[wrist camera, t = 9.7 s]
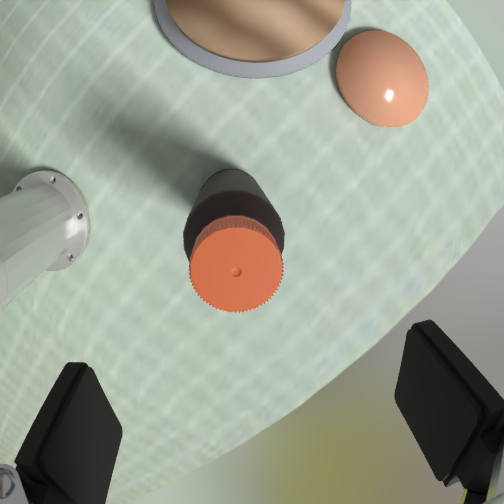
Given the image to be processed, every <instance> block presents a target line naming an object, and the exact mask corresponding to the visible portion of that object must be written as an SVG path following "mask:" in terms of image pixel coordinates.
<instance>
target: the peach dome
mask: <svg viewBox="0 0 504 504" xmlns="http://www.w3.org/2000/svg"><path fill="white" fill-rule="evenodd" d="M336 79H337V84H338V87H339V90H340V92H341V94H342V96H343V98H344V100H345V101H346V103H347V104H348V106H349V107H350V108H351V109H352V110H353V111H354V112H355V113H356V114H357V115H358V116H359V117H361V118H362V119H364V120H366V121H367V122H369V123H372V124H374V125H378V126H382V127H398V126H403V125H406V124H408V123H410V122H412V121H413V120H414V119H416V118H417V117H418V116H419V115H420V113H421V112H422V110H423V109H424V107H425V105H426V102H427V98H428V90H429V85H428V77H427V73H426V70H425V67H424V65H423V63H422V61H421V59H420V57H419V56H418V54H417V53H416V52H415V50H414V49H413V48H412V47H411V46H410V45H409V44H408V43H407V42H405V41H404V40H403V39H401V38H399V37H398V36H396V35H394V34H391V33H388V32H385V31H379V30H370V31H365V32H362V33H359V34H357V35H355V36H354V37H352V38H351V39H350V40H348V41H347V42H346V43H345V44H344V46H343V47H342V49H341V50H340V52H339V55H338V57H337V62H336Z"/></svg>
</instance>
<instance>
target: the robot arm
mask: <svg viewBox="0 0 504 504" xmlns="http://www.w3.org/2000/svg"><path fill="white" fill-rule="evenodd" d="M55 179H56V181H55ZM81 213H82V214H83V216H82V215H81ZM89 231H90V220H89V214H88V209H87V206H86V203H85V200H84V198H83V197H82V195H81V193H80V191H79V190H78V188H77V187H76V186H75V184H74V183H72V182H71V181H70V180H69V179H68V178H67V177H65V176H63V175H62V174H60V173H57V172H54V171H48V170H42V171H37V172H34V173H30V174H28V175H27V176H25V177H23V178H22V179H21V180H20V181H19V182H18V183H17V184H16V186H15V187H14V189H13V191H12V193H11V194H8V195H5V196H2V197H0V312H1V311H2V310H3V309H4V308H5V307H6V306H7V305H8V304H9V303H10V302H11V301H12V300H13V299H14V298H15V297H17V296H18V295H19V294H20V293H21V292H22V291H23V290H24V289H25V288H26V287H27V286H28V285H30V284H31V283H32V282H33V281H34V280H35V279H36V278H37V277H39V276H40V275H41V274H42V273H43V272H44V271H45V270H46V271H58V270H62V269H65V268H67V267H68V266H70V265H71V264H73V263H74V262H75V261H76V260H77V259H78V258H79V257H80V256H81V254H82V252H83V251H84V249H85V247H86V244H87V241H88V237H89ZM395 401H396V404H397V405H398V407H399V409H400V411H401V413H402V415H403V417H404V418H405V420H406V422H407V424H408V426H409V428H410V429H411V431H412V433H413V435H414V437H415V439H416V441H417V442H418V444H419V446H420V448H421V450H422V452H423V454H424V455H425V458H426V459H427V461H428V463H429V465H430V467H431V469H432V471H433V473H434V475H435V477H436V479H437V480H438V481H443V483H444V485H445V487H448V486H450V485H452V484H454V483H456V482H459V481H460V482H461V484H462V485H463V487H464V488H463V492H462V495H461V498H460V502H459V504H504V399H503V398H502V397H501V396H500V395H499V393H498V392H497V391H496V390H495V389H494V388H493V386H492V385H491V384H490V383H489V382H488V381H487V379H486V378H485V377H484V376H483V375H482V374H481V373H480V371H479V370H478V369H477V368H476V367H475V366H474V365H473V364H472V362H471V361H470V360H469V359H468V358H467V357H466V356H465V355H464V354H463V352H461V350H460V349H459V348H458V347H457V346H456V345H455V344H454V343H453V342H452V340H451V339H450V338H449V337H448V336H447V335H446V334H445V333H444V332H443V331H442V330H441V329H440V328H439V327H438V326H437V325H436V324H435V322H433V321H432V320H426V321H422V322H418V323H414V324H413V325H412V327H411V329H410V330H408V332H407V336H406V341H405V346H404V352H403V357H402V362H401V367H400V372H399V376H398V381H397V385H396V389H395ZM121 439H122V426H121V424H120V422H119V420H118V419H117V417H116V415H115V413H114V411H113V409H112V407H111V405H110V403H109V401H108V399H107V397H106V395H105V393H104V391H103V389H102V387H101V385H100V383H99V381H98V379H97V377H96V375H95V372H94V370H93V369H92V368H91V367H88V365H87V364H86V363H84V362H69V363H67V364H66V365H65V367H64V368H63V370H62V372H61V373H60V375H59V377H58V379H57V380H56V382H55V384H54V386H53V387H52V389H51V391H50V393H49V394H48V396H47V398H46V400H45V402H44V404H43V405H42V407H41V409H40V411H39V413H38V415H37V417H36V419H35V420H34V422H33V424H32V426H31V428H30V430H29V432H28V434H27V436H26V438H25V440H24V442H23V444H22V446H21V448H20V450H19V452H18V455H17V457H16V459H15V461H14V462H15V463H16V464H17V467H16V469H14V468H13V467H12V466H10V465H7V464H0V504H105V502H106V498H107V494H108V489H109V485H110V481H111V477H112V473H113V469H114V465H115V461H116V457H117V454H118V450H119V446H120V442H121Z"/></svg>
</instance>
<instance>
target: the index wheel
mask: <svg viewBox="0 0 504 504" xmlns="http://www.w3.org/2000/svg"><path fill="white" fill-rule="evenodd" d="M165 2H166V5H167V7H168V10H169V12H170V15H171V17H172V19H173V20H174V22H175V24H176V26H177V27H178V28H179V29H180V31H181V32H182V33H183V34H184V35H185V36H186V37H187V38H188V39H189V40H190V41H192V42H193V43H194V44H196V45H197V46H199V47H200V48H202V49H204V50H206V51H208V52H210V53H212V54H215V55H217V56H219V57H223V58H226V59H230V60H235V61H240V62H251V63H266V62H274V61H280V60H284V59H288V58H292V57H294V56H297V55H300V54H302V53H304V52H306V51H308V50H309V49H311V48H312V47H314V46H315V45H317V44H318V43H319V42H320V41H321V40H322V39H323V38H325V37H326V36H327V35H328V34H329V33H330V32H331V31H332V29H333V28H334V27H335V26H336V24H337V23H338V21H339V19H340V17H341V15H342V12H343V9H344V5H345V0H165Z"/></svg>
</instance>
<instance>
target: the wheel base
mask: <svg viewBox="0 0 504 504" xmlns="http://www.w3.org/2000/svg"><path fill="white" fill-rule="evenodd" d="M154 6H155V12H156V16H157V19H158V22H159V24H160V26H161V28H162V30H163V32H164V33H165V35H166V36H167V38H168V39H169V40H170V42H171V43H172V44H173V45H174V46H175V47H176V48H177V49H178V50H179V51H180V52H181V53H182V54H184V55H185V56H186V57H187V58H189V59H190V60H192V61H194V62H195V63H197V64H199V65H201V66H203V67H205V68H208V69H210V70H212V71H215V72H219V73H222V74H225V75H230V76H235V77H244V78H269V77H277V76H282V75H286V74H290V73H293V72H296V71H299V70H302V69H304V68H306V67H308V66H310V65H312V64H314V63H315V62H316V61H318V60H319V59H321V58H322V57H324V56H325V55H326V54H327V53H328V52H329V51H331V50H332V49H333V48H334V47H335V45H336V44H337V43H338V42H339V41H340V39H341V37H342V36H343V34H344V32H345V31H346V28H347V25H348V23H349V19H350V14H351V0H345V5H344V9H343V12H342V15H341V17H340V19H339V21H338V23H337V24H336V26H335V27H334V28H333V29H332V31H331V32H330V33H329V34H328V35H327V36H326V37H325V38H323V39H322V40H321V41H320V42H319V43H318V44H317V45H315V46H314V47H312V48H311V49H309V50H308V51H306V52H304V53H302V54H300V55H297V56H294V57H292V58H288V59H284V60H280V61H274V62H266V63H251V62H240V61H235V60H230V59H226V58H223V57H219V56H217V55H215V54H212V53H210V52H208V51H206V50H204V49H202V48H200V47H199V46H197V45H196V44H194V43H193V42H192V41H190V40H189V39H188V38H187V37H186V36H185V35H184V34H183V33H182V32H181V31H180V29H179V28H178V27H177V26H176V24H175V22H174V20H173V19H172V17H171V15H170V12H169V10H168V7H167V5H166V2H165V0H154Z"/></svg>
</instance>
